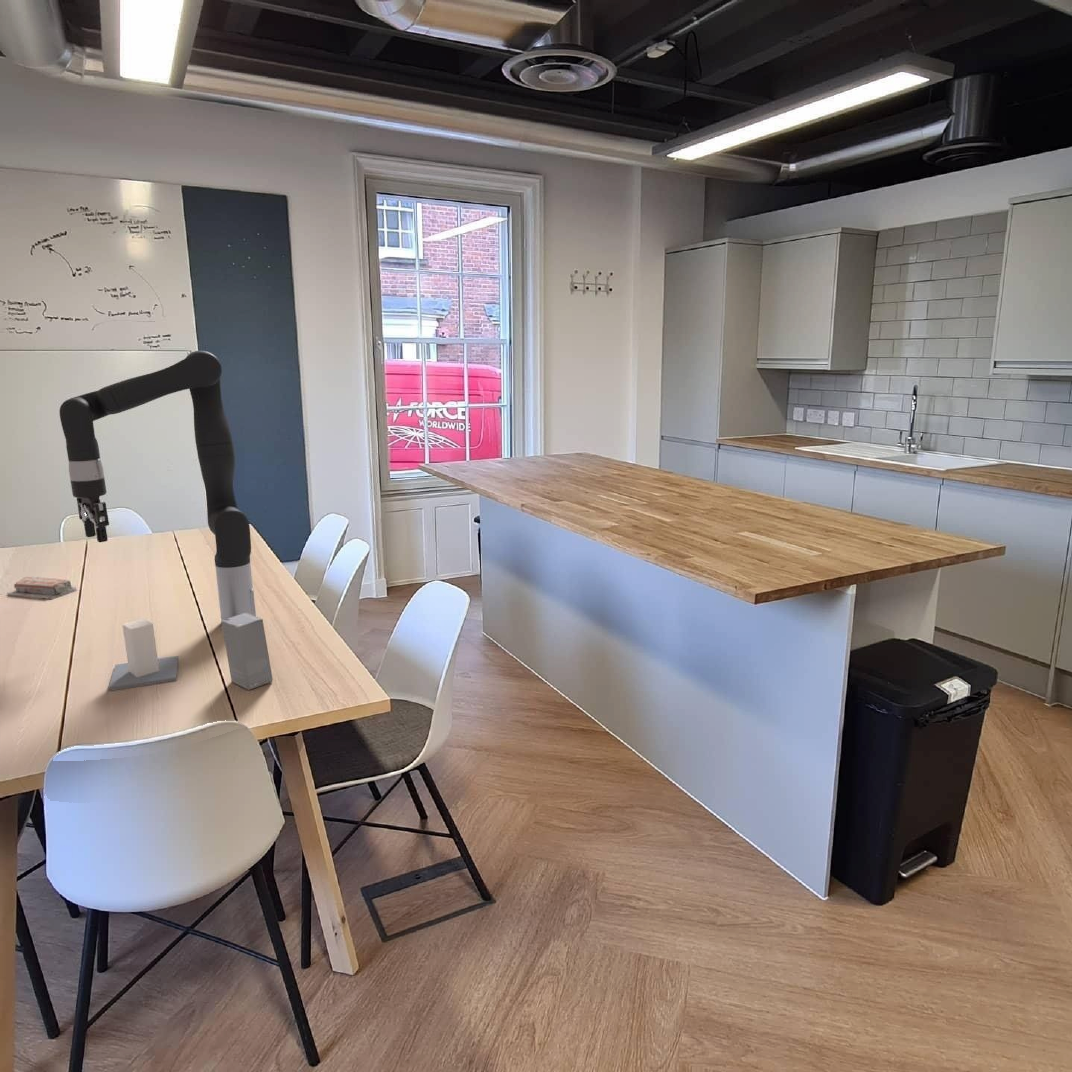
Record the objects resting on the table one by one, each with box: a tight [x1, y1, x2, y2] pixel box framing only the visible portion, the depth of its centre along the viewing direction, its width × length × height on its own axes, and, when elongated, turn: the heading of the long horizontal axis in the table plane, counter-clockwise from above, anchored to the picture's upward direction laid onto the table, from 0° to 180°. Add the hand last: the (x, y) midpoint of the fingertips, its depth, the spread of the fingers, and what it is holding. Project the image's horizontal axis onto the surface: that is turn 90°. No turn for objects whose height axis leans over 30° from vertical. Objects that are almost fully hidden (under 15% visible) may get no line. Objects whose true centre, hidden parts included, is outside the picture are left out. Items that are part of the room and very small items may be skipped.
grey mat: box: [108, 655, 180, 692], centre depth 183 cm, size 14×14×1 cm
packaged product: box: [6, 576, 78, 600], centre depth 245 cm, size 18×5×10 cm
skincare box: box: [220, 613, 274, 691], centre depth 176 cm, size 8×7×16 cm
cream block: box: [122, 618, 159, 677], centre depth 181 cm, size 5×5×12 cm
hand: (96, 539), depth 198 cm, fingers open, 8 cm apart
